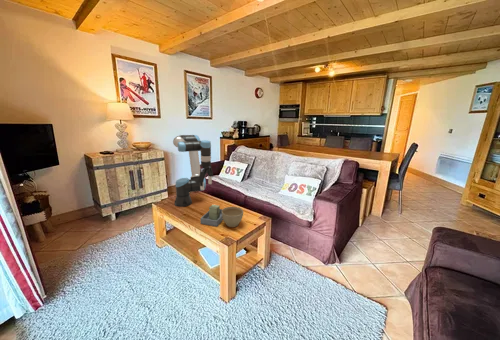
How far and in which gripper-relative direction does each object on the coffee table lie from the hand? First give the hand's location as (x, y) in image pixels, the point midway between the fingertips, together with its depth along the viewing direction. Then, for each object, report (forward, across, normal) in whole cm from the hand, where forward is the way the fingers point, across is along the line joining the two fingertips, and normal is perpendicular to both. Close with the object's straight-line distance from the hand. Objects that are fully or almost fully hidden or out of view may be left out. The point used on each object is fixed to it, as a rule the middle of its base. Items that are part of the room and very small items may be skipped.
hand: (206, 186), depth 160 cm
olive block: (+23, -6, -10) cm, 26 cm away
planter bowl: (+24, -9, -26) cm, 36 cm away
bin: (+24, -6, -10) cm, 27 cm away
